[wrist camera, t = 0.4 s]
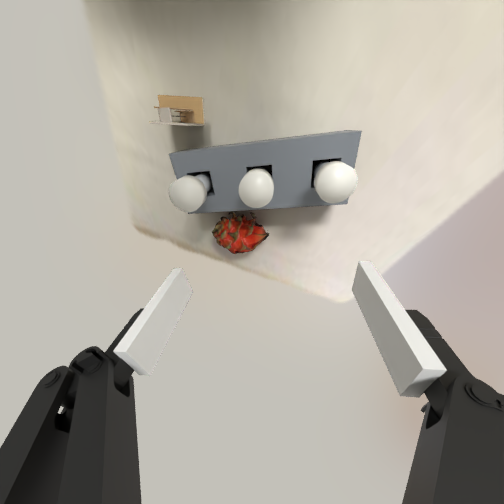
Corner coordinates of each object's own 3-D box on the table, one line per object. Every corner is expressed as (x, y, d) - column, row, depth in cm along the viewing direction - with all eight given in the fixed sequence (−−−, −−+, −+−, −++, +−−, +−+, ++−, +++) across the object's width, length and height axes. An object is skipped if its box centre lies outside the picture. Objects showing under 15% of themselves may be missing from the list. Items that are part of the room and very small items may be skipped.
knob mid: (245, 163, 29) (236, 174, 22) (273, 160, 28) (272, 170, 22) (248, 192, 32) (241, 209, 25) (274, 190, 31) (274, 207, 24)
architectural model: (168, 98, 29) (140, 90, 23) (209, 100, 29) (191, 93, 23) (172, 123, 31) (147, 123, 25) (211, 126, 31) (195, 126, 25)
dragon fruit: (215, 216, 42) (266, 219, 43) (213, 253, 42) (265, 254, 42) (208, 207, 33) (272, 210, 34) (207, 252, 33) (271, 255, 34)
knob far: (187, 169, 31) (163, 180, 24) (213, 166, 30) (195, 177, 23) (195, 196, 33) (175, 213, 27) (219, 194, 32) (204, 211, 26)
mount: (184, 149, 33) (168, 153, 28) (347, 130, 29) (361, 130, 24) (199, 202, 39) (188, 213, 34) (337, 193, 34) (347, 204, 29)
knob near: (309, 157, 27) (319, 166, 21) (341, 153, 27) (361, 162, 20) (307, 187, 30) (315, 204, 23) (336, 185, 29) (353, 202, 23)
